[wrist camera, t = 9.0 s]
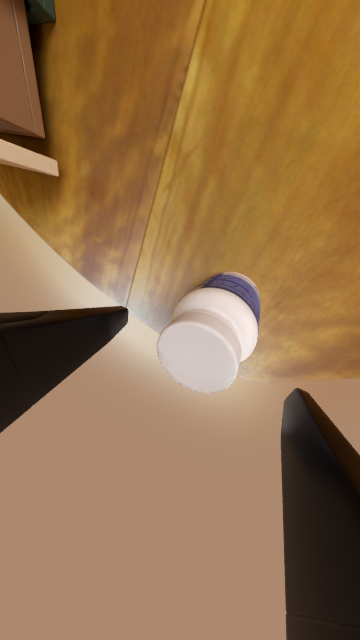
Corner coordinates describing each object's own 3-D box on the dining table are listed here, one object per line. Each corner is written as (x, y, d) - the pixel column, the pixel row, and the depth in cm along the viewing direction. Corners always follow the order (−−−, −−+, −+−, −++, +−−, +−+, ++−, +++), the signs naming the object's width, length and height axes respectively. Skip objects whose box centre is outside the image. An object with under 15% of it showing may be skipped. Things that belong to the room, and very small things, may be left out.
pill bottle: (212, 261, 14) (156, 284, 7) (273, 285, 13) (286, 345, 5) (193, 312, 17) (139, 368, 9) (241, 336, 15) (222, 420, 8)
